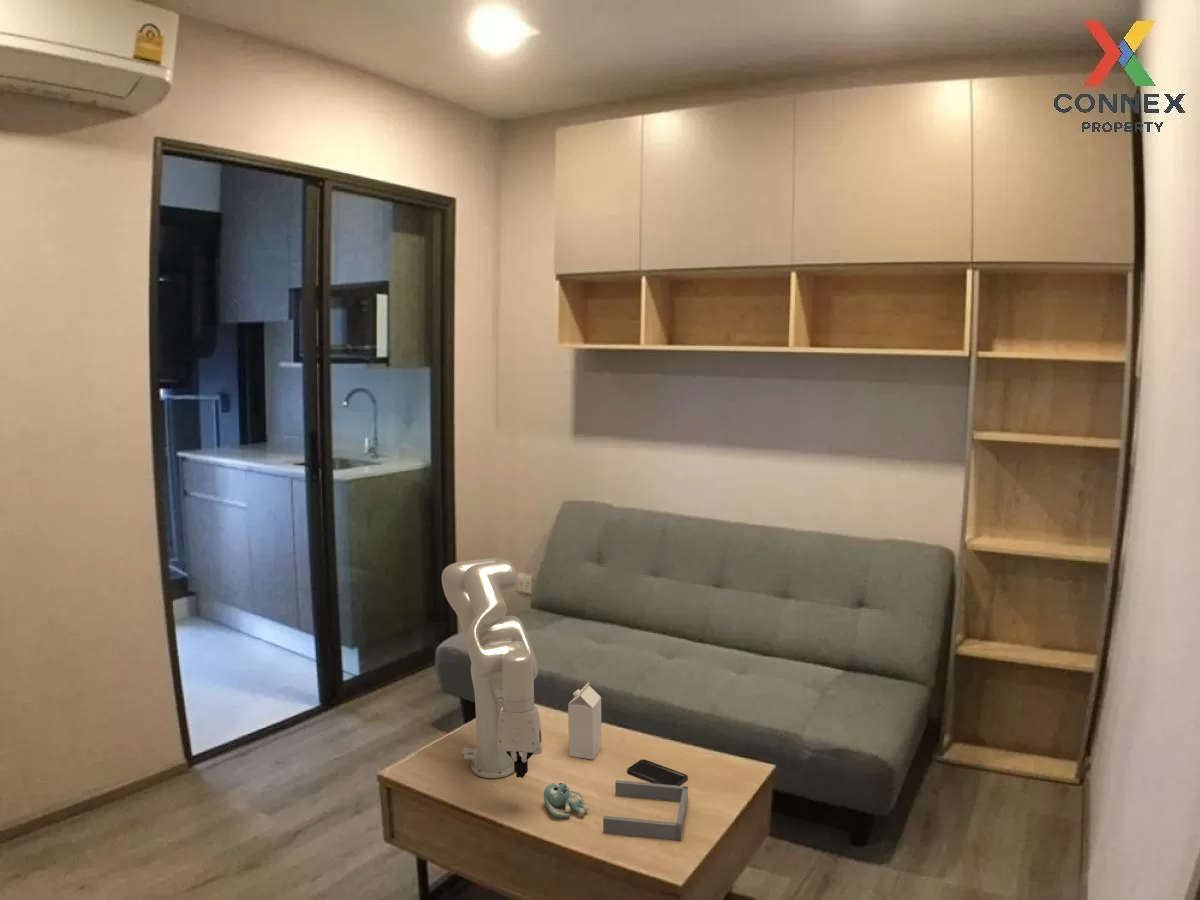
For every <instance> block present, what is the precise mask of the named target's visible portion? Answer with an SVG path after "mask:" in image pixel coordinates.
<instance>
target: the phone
mask: <svg viewBox="0 0 1200 900" xmlns="http://www.w3.org/2000/svg"><path fill="white" fill-rule="evenodd" d="M626 773H627V774H628V775H630V776H632V777H635V778H637V779H640V780H643V781H646V782H647V783H654V784H665V785H676V786H683V785H684V783H686V782H687V781H688V780H689V776H688V775H687V774H685V773H684V772H683V773H682V772H680V771H677V770H674V769H671V768H669V767H667V766H663V765H661V764H658V763H656V762H653V761H651V760H647V759H645V758H644V759H639V760H638V761H636V762H635V763H634V764H632V765H631V766H629V767H628V768H626Z"/></svg>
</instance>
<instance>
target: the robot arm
mask: <svg viewBox="0 0 1200 900" xmlns="http://www.w3.org/2000/svg"><path fill="white" fill-rule="evenodd" d="M441 584H442V585H441V586H442V589H443V593H444V596H445V598H446V600H447V602H448V603H449V605H450V607H451V608H452V609H453V610H454V612H455V614H456V615H457V618H458V620H459V623H460V626H461V629H462V632H463V635H464V639H465V641H466V647H467V648H466V649H467V653H468V655H469V659H470V662H471V665H470V676H471V680H472V686H473V692H474V693H473V694H474V703H475V724H476V725H475V727H476V729H475V730H476V747H475V748H469V747H463V749H462V756H463V759H464V760H471V761H472V762H471V771H472V773H474V774H475V775H476V776H477V777H481V778H484V779H486V778H487V779H499V778H505V777H507V776H510V775H512V774H513V773H515V776H516V778H517V779H519V778H521V779H524V777H525V775H526V774H528V771H529V767H528V766H529V762H528V760H529V759H530V758H531V757H532V756H535V755H541V754H542V751H543V747H542V744H541V743H542V738H543V737H542V727H541V720H540V716H539V710H538V707H537V706H536V705H535V692H534V691H535V690H534V689H535V688H534V685H535V684H534V681H535V679H536V678H537V676H538V674H539V669H538V662H537V658H536V655H535V653H534V649H533V647H532V645H531V642H530V639H529V636H528V633H527V630H526V628H525V625H524V624H523V621H522V620H520V618H518V617H517V616H515V615H507V613H508V607H507V604H506V602H505V599H504V596H503V593H506V592H513V591H514V590H515V589H517V586H518V584H519V576H518V572H517V569H516V568H515V566H514V564H513V563H512V562H511V561H510V560H508V559H505V558H501V557H488V558H487V557H486V558H480V559H471V560H462V561H457V562H454V563H451V564H449V565H447V566H446V567H445V568H444V569H443V570H442V573H441ZM521 753H522V754H521Z"/></svg>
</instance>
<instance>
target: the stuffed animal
mask: <svg viewBox="0 0 1200 900" xmlns="http://www.w3.org/2000/svg"><path fill="white" fill-rule="evenodd" d="M543 801H544V804H545V807H546V808H547V810H548V811H549V812H550V814H551V816H553V818H557V819H558V818H560V819H567V818H570V817H571V814H570V812H571V811H572V812H576V813H577V814H579V815H580V816H584V815H585V813H587V812H588V811H589V806H588V805H587V804H584V802H585V800H584V798H583V796H582V795H581V794H580V793H579V792H577V791H572V790H570V788H569V786H568V785H567V783H565V782H559V781H557V780H556V781H554V782H553V783H550V784H549V785H547V786H545V789H544V791H543ZM563 807H564V808H565V809H562V808H563Z"/></svg>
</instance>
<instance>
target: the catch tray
mask: <svg viewBox="0 0 1200 900" xmlns="http://www.w3.org/2000/svg"><path fill="white" fill-rule="evenodd" d="M614 788H615V796H616V797H626V798H637V799H645V800H646V799H649V800H656V801H657V800H659V801H666V802H667V801H670V802H679V807H678V811H677V818H676V822H673V821H672V822H671V821H670V822H669V821H663V820H661V821H660V820H653V819H652V820H651V819H650V820H649V819H640V818H632V817H621V816H610V815H604V816H603V818H602V822H603V824H602V825H603V826H602V828H603V834H615V835H622V836H624V835H625V836H632V837H640V838H641V837H643V838H652V839H661V840H673V841H680V842H681V841H682V836H683V831H684V825H685V819H686V813H687V808H688V801H689V786H686V785H684V786H683V785H681V786H676V785H665V784H654V783H650V782H644V781H643V782H640V781H630V780H629V781H628V780H620V779H617V780H615V785H614Z"/></svg>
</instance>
